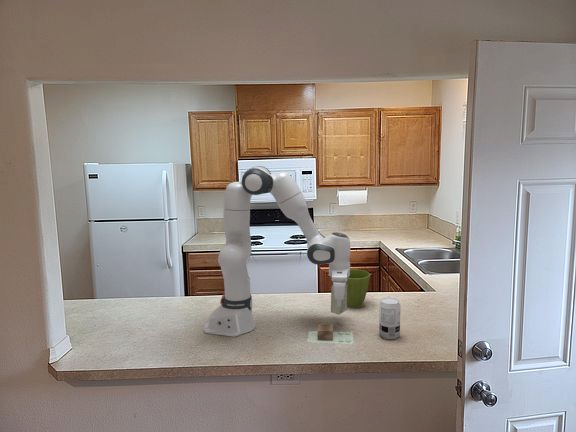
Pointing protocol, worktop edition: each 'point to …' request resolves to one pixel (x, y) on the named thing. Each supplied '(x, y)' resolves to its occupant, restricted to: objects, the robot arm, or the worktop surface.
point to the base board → (337, 337)
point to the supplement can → (389, 318)
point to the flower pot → (357, 288)
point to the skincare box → (334, 302)
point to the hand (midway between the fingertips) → (338, 302)
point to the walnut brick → (325, 332)
